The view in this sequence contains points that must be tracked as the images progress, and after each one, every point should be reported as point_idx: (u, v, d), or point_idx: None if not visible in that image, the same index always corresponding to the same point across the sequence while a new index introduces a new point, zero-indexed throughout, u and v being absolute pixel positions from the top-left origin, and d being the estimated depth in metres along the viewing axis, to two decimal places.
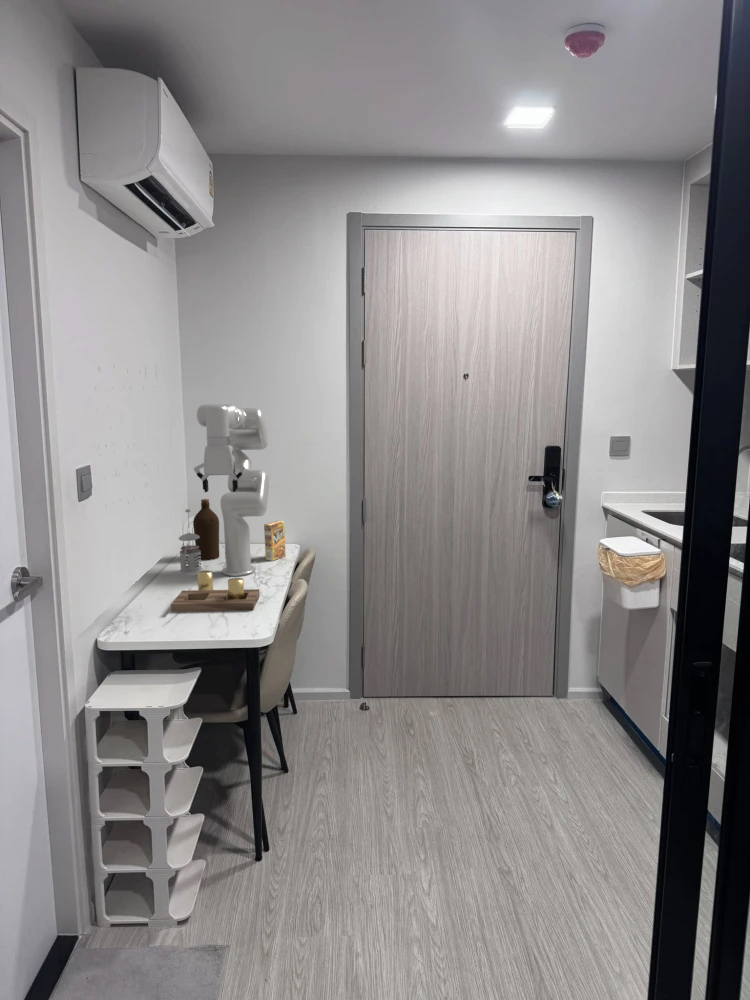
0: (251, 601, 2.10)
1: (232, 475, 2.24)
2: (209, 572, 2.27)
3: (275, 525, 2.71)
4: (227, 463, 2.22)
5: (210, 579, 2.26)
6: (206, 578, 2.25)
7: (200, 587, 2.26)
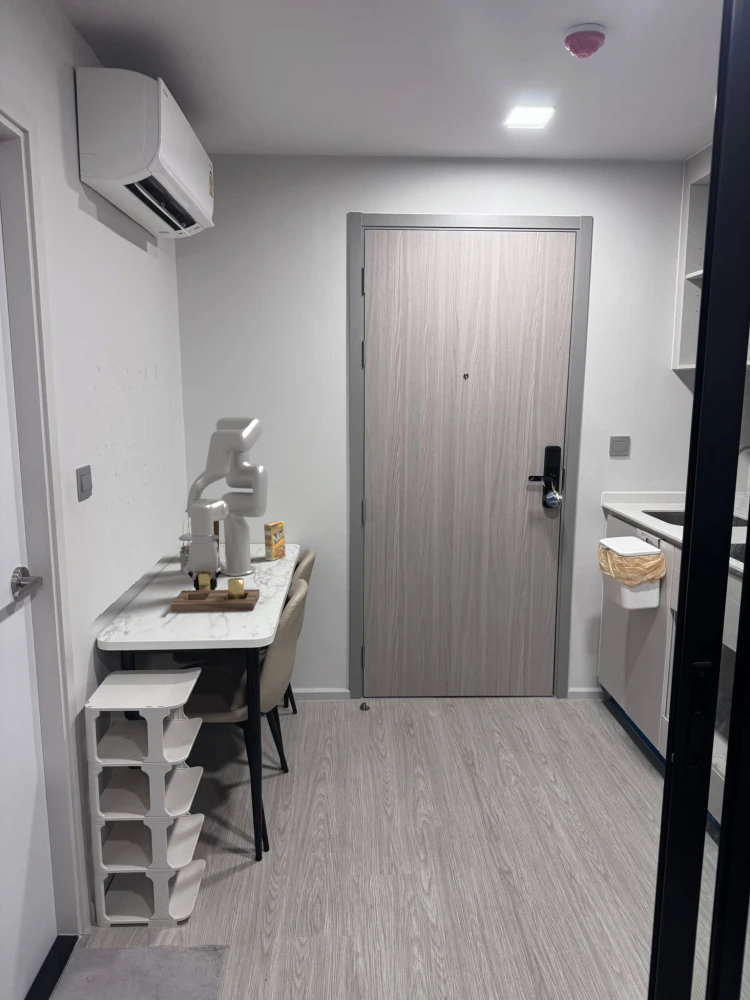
0: (251, 601, 2.10)
1: (212, 574, 2.26)
2: (209, 572, 2.27)
3: (275, 525, 2.71)
4: (211, 560, 2.24)
5: (210, 579, 2.26)
6: (206, 577, 2.25)
7: (200, 587, 2.26)
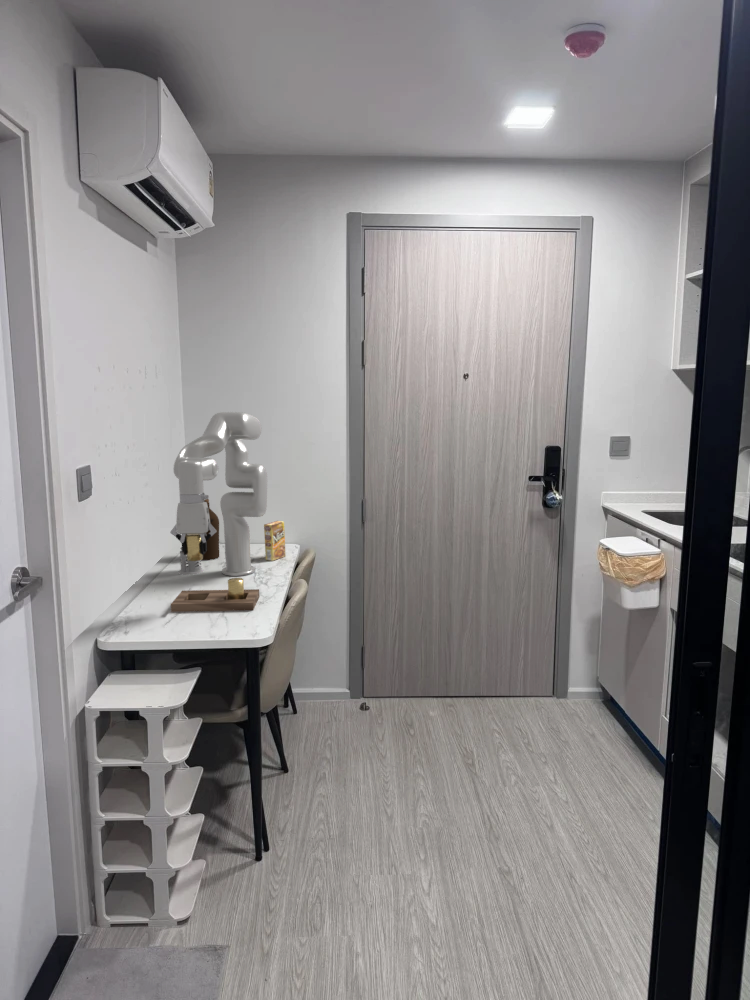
0: (251, 601, 2.10)
1: (202, 536, 2.11)
2: (198, 535, 2.13)
3: (275, 525, 2.71)
4: (201, 521, 2.10)
5: (199, 542, 2.12)
6: (195, 540, 2.11)
7: (188, 550, 2.11)
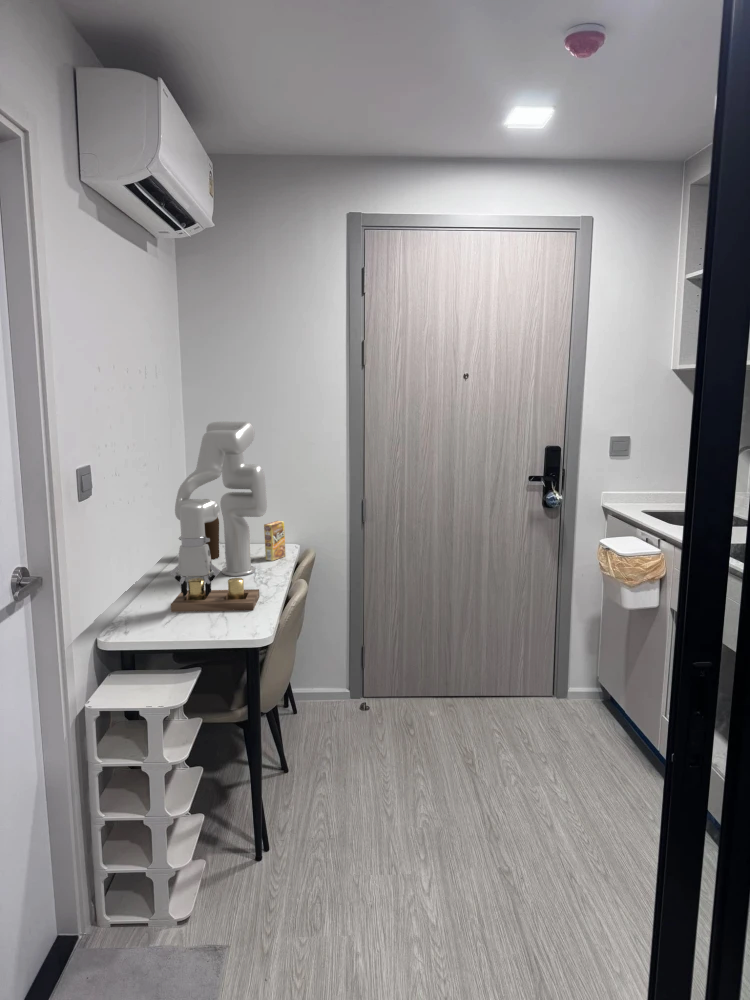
0: (251, 601, 2.10)
1: (205, 578, 2.13)
2: (200, 580, 2.14)
3: (275, 525, 2.71)
4: (203, 564, 2.11)
5: (201, 587, 2.13)
6: (197, 586, 2.12)
7: (191, 596, 2.13)
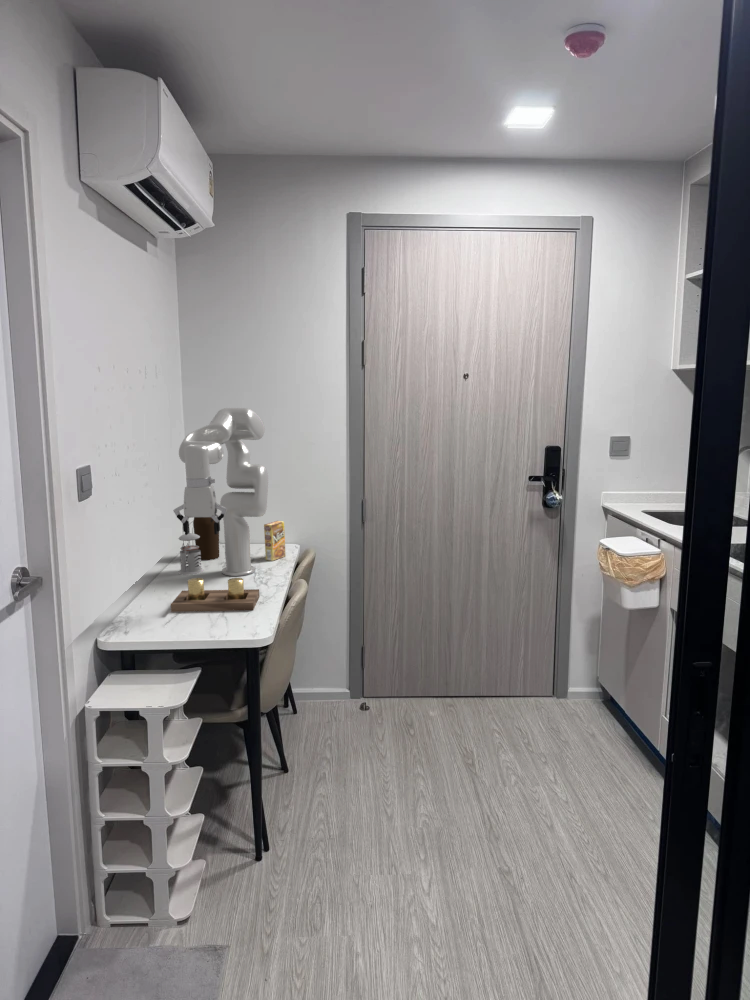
0: (251, 601, 2.10)
1: (213, 517, 2.14)
2: (200, 580, 2.14)
3: (275, 525, 2.71)
4: (208, 505, 2.12)
5: (201, 587, 2.13)
6: (197, 586, 2.12)
7: (191, 596, 2.13)
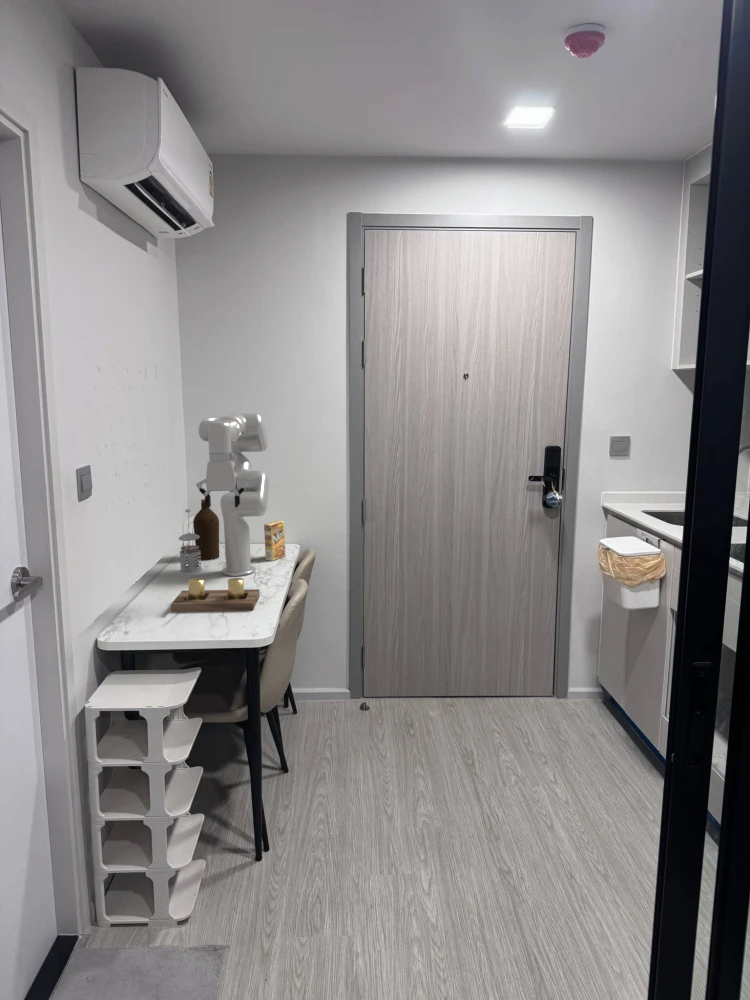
0: (251, 601, 2.10)
1: (234, 491, 2.25)
2: (201, 580, 2.14)
3: (275, 525, 2.71)
4: (229, 479, 2.24)
5: (202, 587, 2.13)
6: (198, 586, 2.12)
7: (192, 596, 2.13)
